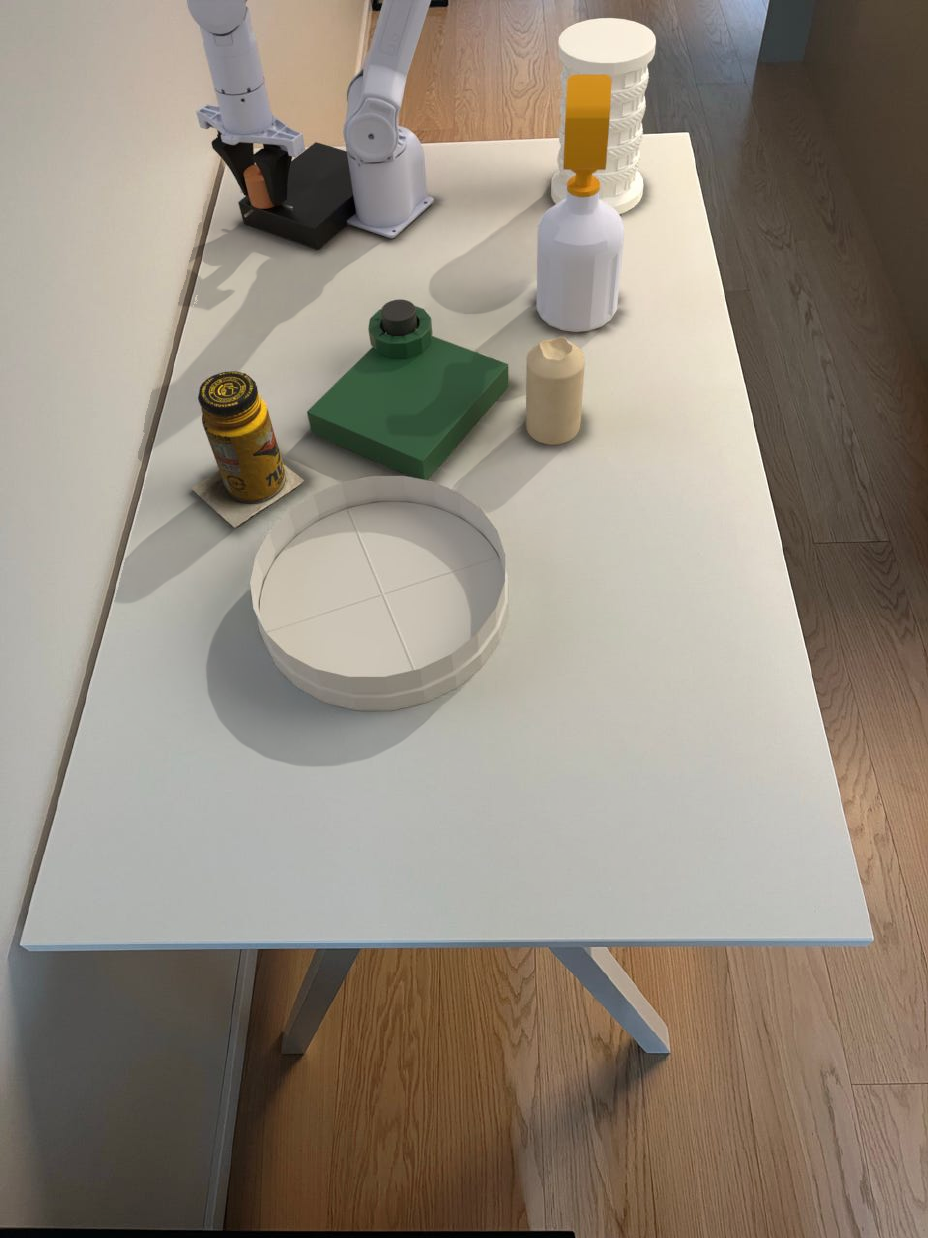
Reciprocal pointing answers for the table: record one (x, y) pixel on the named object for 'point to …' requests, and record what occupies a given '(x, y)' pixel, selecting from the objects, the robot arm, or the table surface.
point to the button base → (409, 399)
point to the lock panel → (309, 199)
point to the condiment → (241, 449)
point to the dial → (257, 188)
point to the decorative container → (625, 60)
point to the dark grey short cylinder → (399, 318)
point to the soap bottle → (581, 221)
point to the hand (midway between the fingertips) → (265, 196)
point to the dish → (381, 592)
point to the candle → (554, 391)
